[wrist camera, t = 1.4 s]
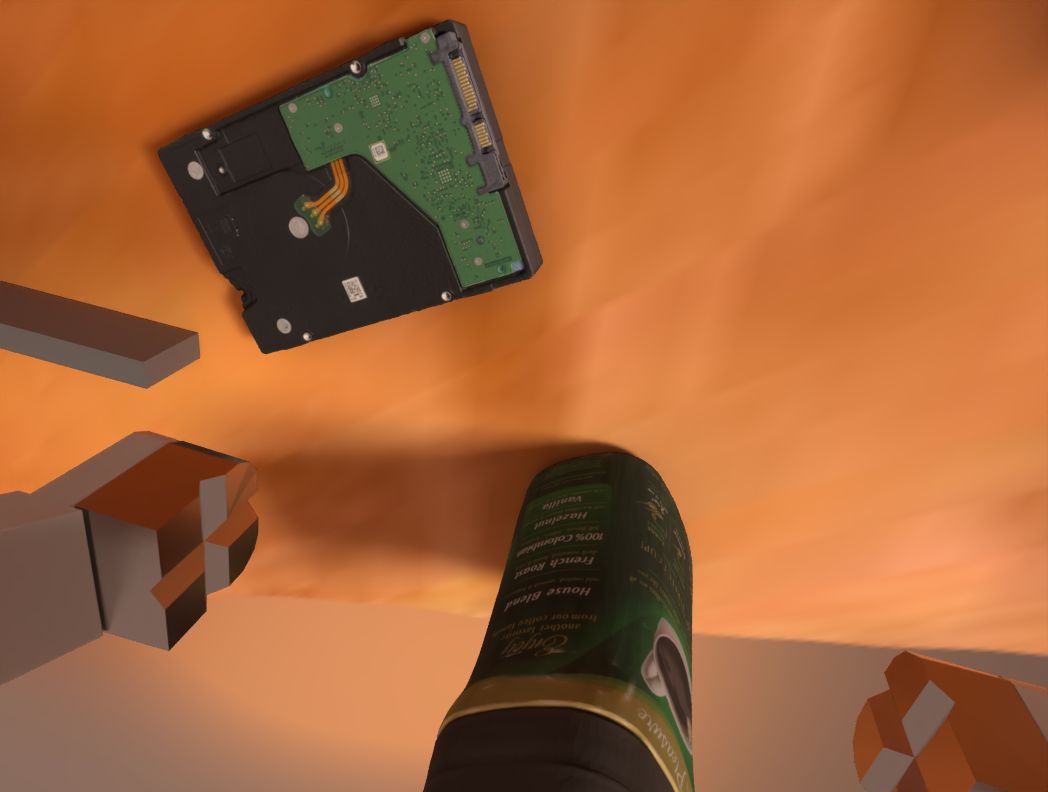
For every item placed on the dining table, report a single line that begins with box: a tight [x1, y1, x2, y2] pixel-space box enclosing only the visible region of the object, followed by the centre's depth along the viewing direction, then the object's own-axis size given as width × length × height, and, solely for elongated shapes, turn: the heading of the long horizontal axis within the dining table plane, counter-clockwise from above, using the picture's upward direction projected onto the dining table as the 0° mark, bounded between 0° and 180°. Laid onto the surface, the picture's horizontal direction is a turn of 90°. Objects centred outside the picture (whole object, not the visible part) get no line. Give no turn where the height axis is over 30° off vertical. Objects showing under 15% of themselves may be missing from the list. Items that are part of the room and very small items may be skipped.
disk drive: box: [158, 19, 543, 354], centre depth 28 cm, size 10×3×15 cm
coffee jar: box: [423, 453, 695, 792], centre depth 26 cm, size 10×8×19 cm
